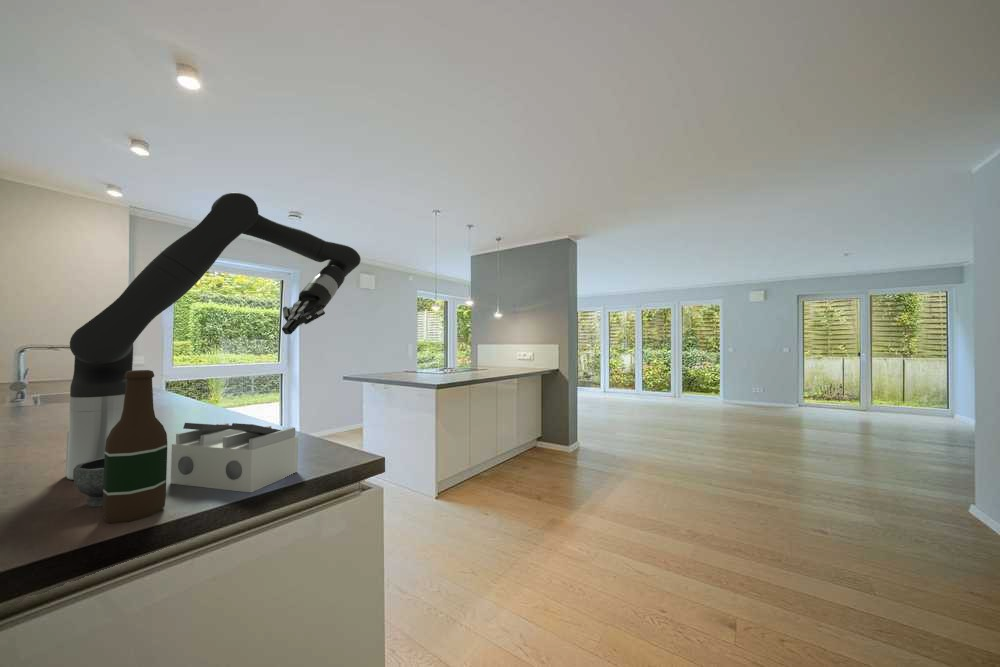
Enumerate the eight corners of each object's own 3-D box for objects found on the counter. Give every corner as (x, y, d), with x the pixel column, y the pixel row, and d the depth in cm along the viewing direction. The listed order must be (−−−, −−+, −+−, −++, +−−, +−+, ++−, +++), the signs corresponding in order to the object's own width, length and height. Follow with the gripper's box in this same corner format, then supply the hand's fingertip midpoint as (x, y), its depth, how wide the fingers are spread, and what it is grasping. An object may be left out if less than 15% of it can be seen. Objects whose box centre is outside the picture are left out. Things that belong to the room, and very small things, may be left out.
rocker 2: (230, 429, 76) (232, 422, 76) (268, 436, 84) (270, 430, 85) (250, 430, 74) (253, 423, 75) (287, 437, 83) (289, 431, 84)
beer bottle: (125, 526, 59) (131, 372, 60) (87, 521, 60) (93, 371, 61) (177, 505, 66) (181, 369, 67) (142, 502, 68) (147, 368, 69)
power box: (168, 484, 77) (170, 434, 77) (225, 465, 89) (226, 422, 89) (249, 493, 72) (250, 440, 73) (297, 472, 84) (298, 427, 85)
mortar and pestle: (113, 510, 65) (116, 439, 65) (54, 512, 64) (57, 440, 64) (166, 486, 76) (168, 426, 76) (117, 487, 75) (119, 426, 76)
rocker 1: (183, 428, 78) (185, 422, 79) (226, 431, 87) (227, 425, 88) (202, 429, 77) (204, 423, 77) (243, 432, 86) (245, 426, 87)
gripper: (293, 282, 110) (256, 321, 98) (332, 280, 107) (300, 321, 95) (306, 302, 115) (272, 342, 103) (344, 301, 112) (314, 342, 100)
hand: (286, 332), depth 99 cm, fingers closed
